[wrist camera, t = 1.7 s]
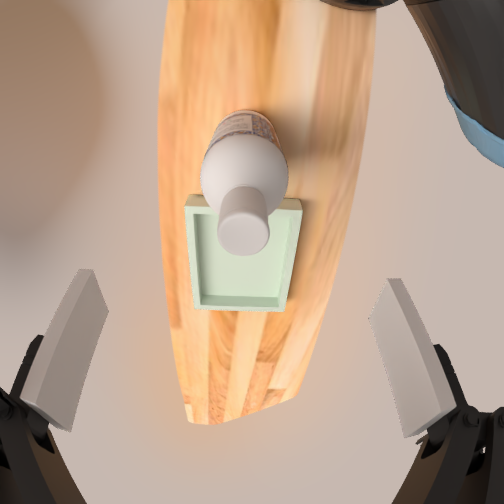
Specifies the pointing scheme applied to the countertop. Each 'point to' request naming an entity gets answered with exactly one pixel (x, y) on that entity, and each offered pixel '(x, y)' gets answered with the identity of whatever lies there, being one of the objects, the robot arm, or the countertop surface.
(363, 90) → the countertop surface
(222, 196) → the bath foam
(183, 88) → the countertop surface
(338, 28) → the countertop surface
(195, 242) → the tray
